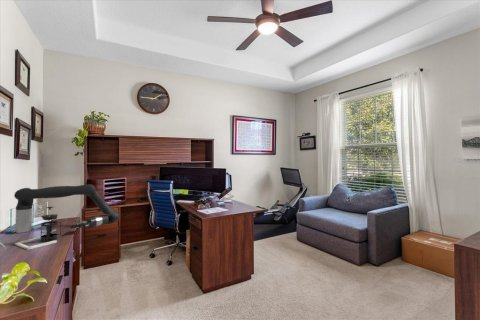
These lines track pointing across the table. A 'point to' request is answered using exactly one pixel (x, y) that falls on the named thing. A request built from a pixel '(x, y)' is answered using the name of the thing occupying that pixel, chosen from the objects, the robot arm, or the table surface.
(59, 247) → the table surface
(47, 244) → the bay
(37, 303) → the table surface
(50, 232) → the french press
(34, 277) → the table surface
